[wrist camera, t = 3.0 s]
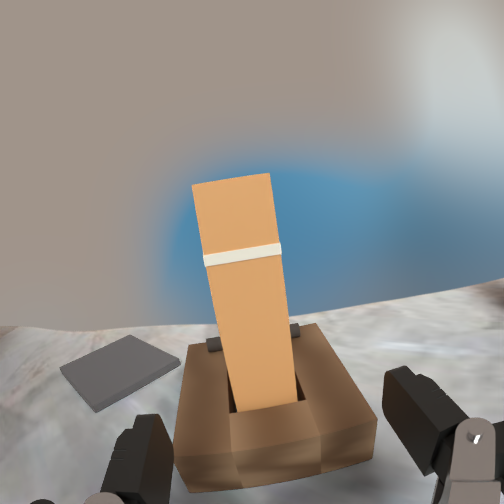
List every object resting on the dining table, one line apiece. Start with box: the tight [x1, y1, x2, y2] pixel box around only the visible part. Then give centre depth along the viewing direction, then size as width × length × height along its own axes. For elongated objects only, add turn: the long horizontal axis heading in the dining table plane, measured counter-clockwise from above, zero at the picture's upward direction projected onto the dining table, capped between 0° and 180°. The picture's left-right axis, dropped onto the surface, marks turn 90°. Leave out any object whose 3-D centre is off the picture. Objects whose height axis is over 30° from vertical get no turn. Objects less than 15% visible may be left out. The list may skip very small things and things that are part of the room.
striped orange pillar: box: [192, 173, 298, 412], centre depth 21 cm, size 4×6×18 cm
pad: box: [59, 335, 181, 413], centre depth 32 cm, size 11×11×1 cm
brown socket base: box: [173, 323, 378, 493], centre depth 22 cm, size 12×14×5 cm
